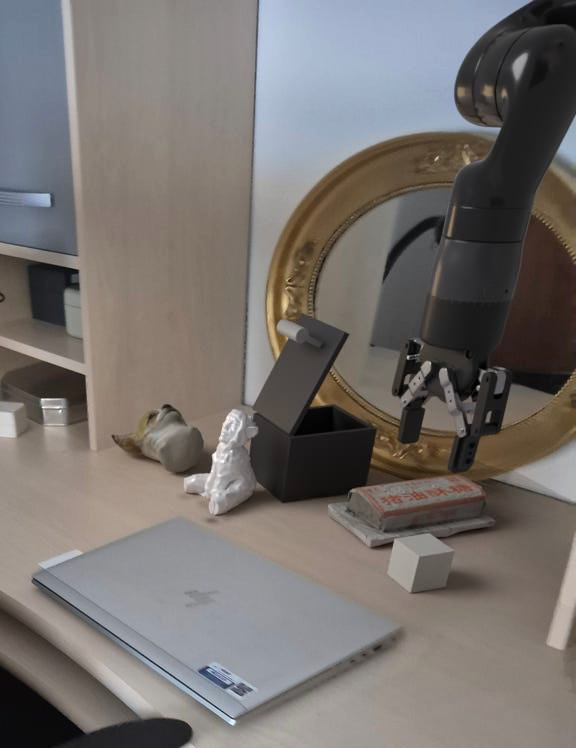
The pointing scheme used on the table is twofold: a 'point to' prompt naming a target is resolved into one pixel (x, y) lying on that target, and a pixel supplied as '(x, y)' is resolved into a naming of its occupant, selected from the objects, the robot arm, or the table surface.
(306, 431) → the open hinged box
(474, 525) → the packaged product
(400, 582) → the off-white matte cube
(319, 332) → the box lid
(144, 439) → the ceramic sculpture
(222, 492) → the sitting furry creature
